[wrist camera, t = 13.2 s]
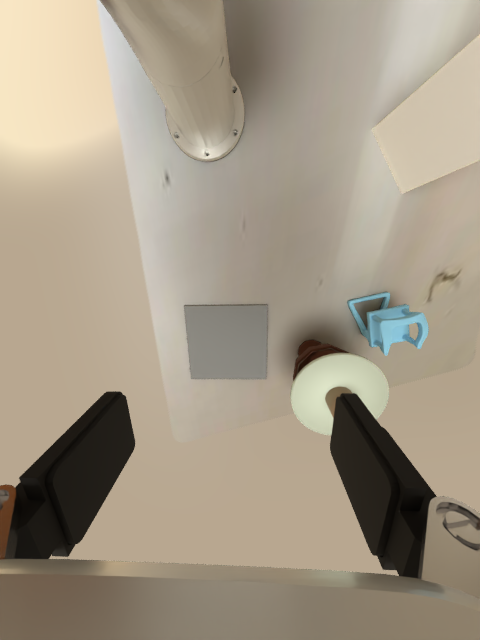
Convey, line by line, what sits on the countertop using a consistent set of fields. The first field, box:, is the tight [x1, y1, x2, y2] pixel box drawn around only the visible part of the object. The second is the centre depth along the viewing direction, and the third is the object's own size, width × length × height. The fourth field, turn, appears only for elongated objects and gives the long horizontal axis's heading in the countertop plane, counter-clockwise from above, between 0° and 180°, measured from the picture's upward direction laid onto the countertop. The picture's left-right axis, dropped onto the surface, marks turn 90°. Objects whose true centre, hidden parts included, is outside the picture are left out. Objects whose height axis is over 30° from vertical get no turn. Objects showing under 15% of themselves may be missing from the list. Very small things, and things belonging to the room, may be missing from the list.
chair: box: [347, 292, 428, 355], centre depth 40 cm, size 8×8×12 cm
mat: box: [184, 305, 268, 379], centre depth 48 cm, size 17×17×1 cm
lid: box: [290, 353, 389, 435], centre depth 31 cm, size 14×14×6 cm
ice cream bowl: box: [293, 340, 348, 381], centre depth 41 cm, size 11×11×15 cm
